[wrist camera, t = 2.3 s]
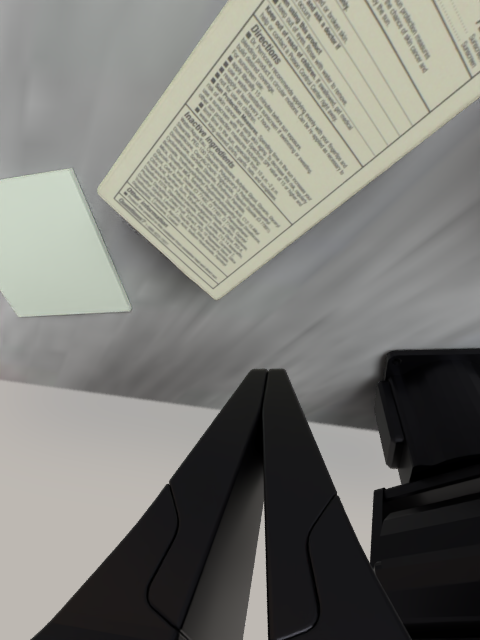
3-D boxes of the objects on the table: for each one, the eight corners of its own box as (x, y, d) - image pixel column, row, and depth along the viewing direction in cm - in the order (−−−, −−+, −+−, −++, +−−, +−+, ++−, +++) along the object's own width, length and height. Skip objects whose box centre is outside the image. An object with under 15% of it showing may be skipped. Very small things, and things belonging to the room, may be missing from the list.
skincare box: (231, 259, 17) (486, 49, 11) (213, 307, 14) (573, 39, 8) (133, 160, 15) (389, -170, 9) (83, 188, 11) (449, -327, 5)
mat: (72, 167, 15) (68, 169, 15) (132, 308, 20) (130, 311, 20) (-63, 189, 17) (-68, 191, 17) (21, 314, 22) (18, 317, 22)
